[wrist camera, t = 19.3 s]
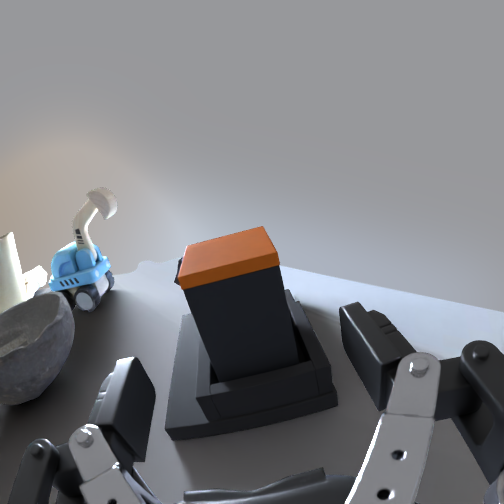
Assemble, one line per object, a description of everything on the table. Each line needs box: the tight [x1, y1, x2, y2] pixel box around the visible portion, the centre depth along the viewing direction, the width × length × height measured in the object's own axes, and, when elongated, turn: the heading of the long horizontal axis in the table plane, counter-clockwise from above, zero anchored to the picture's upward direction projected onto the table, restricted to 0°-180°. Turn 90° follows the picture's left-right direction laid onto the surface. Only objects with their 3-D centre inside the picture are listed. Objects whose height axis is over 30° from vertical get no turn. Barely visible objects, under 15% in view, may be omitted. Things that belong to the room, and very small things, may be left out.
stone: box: [22, 266, 47, 300], centre depth 61 cm, size 21×12×5 cm, turn 67°
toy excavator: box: [49, 187, 118, 312], centre depth 44 cm, size 9×17×17 cm, turn 90°
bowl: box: [0, 292, 75, 405], centre depth 26 cm, size 18×18×8 cm
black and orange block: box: [178, 226, 300, 383], centre depth 21 cm, size 6×6×10 cm
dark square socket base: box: [165, 289, 338, 441], centre depth 26 cm, size 12×16×4 cm
